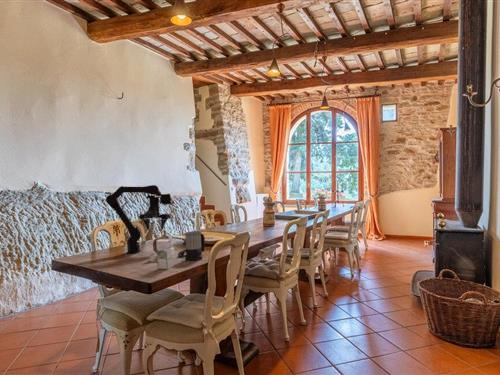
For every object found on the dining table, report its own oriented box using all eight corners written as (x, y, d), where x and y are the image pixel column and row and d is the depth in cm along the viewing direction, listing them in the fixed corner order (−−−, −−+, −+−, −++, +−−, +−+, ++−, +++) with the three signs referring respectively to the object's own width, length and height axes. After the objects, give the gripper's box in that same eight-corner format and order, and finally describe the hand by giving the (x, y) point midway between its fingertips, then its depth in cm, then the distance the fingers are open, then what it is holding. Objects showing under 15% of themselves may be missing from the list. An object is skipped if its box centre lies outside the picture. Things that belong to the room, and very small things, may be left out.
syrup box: (172, 266, 178) (171, 238, 178) (167, 269, 172) (166, 240, 172) (162, 266, 179) (161, 238, 179) (157, 269, 173) (155, 240, 173)
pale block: (150, 262, 190) (150, 255, 190) (158, 254, 210) (157, 247, 210) (168, 262, 191) (168, 254, 191) (174, 253, 211) (174, 247, 211)
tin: (157, 254, 192) (156, 239, 192) (151, 254, 193) (151, 239, 193) (170, 248, 207) (170, 234, 206) (165, 248, 208) (165, 234, 207)
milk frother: (199, 261, 188) (198, 233, 187) (171, 260, 191) (170, 234, 190) (206, 255, 202) (206, 229, 201) (181, 255, 205) (180, 229, 204)
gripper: (133, 206, 212) (134, 232, 212) (162, 206, 207) (163, 232, 208) (143, 204, 222) (144, 229, 223) (170, 204, 218) (171, 229, 219)
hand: (155, 230), depth 218 cm, fingers open, 9 cm apart
